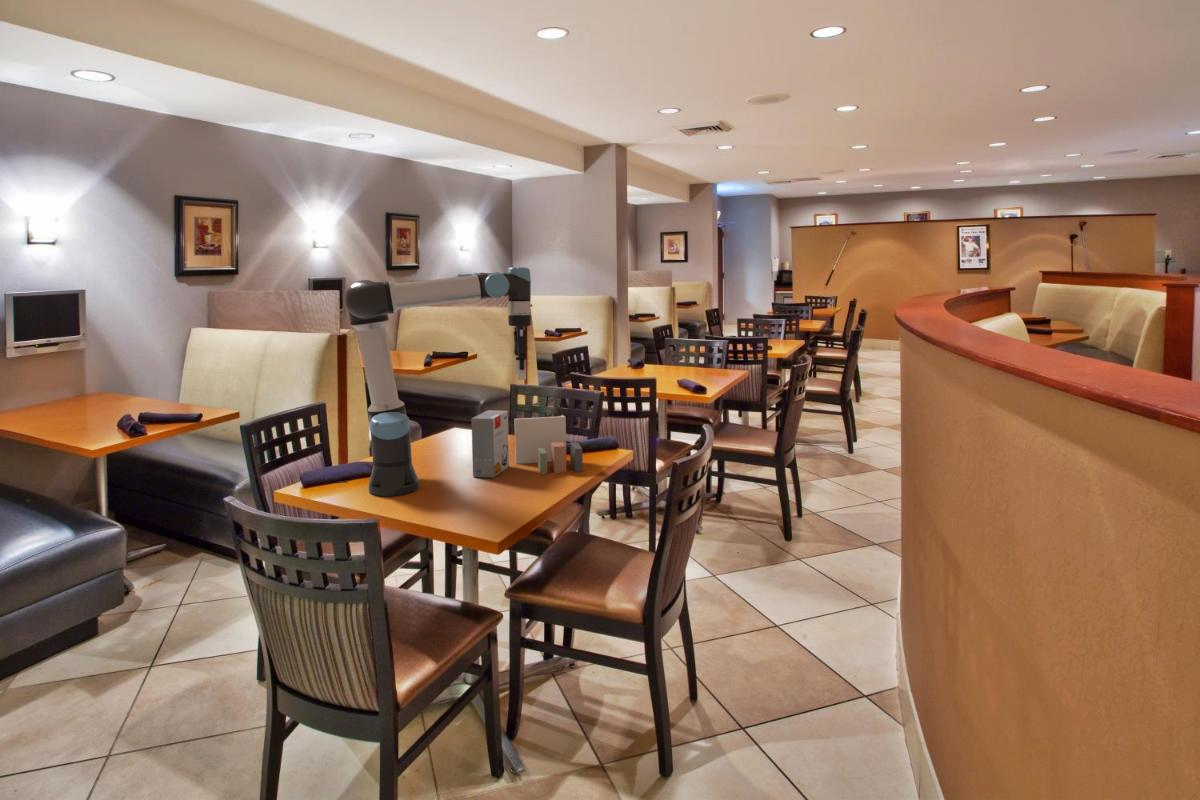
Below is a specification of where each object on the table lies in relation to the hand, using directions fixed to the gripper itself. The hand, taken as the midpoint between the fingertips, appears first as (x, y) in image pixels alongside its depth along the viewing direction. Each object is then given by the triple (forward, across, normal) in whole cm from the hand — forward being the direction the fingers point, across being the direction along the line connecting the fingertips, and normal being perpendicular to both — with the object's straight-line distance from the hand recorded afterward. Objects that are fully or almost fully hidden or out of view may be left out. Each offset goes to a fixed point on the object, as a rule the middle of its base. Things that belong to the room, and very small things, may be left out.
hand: (520, 376), depth 240 cm
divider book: (+31, -7, -7) cm, 33 cm away
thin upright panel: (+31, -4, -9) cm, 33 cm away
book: (+31, -8, -12) cm, 34 cm away
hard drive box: (+32, -5, +10) cm, 34 cm away
